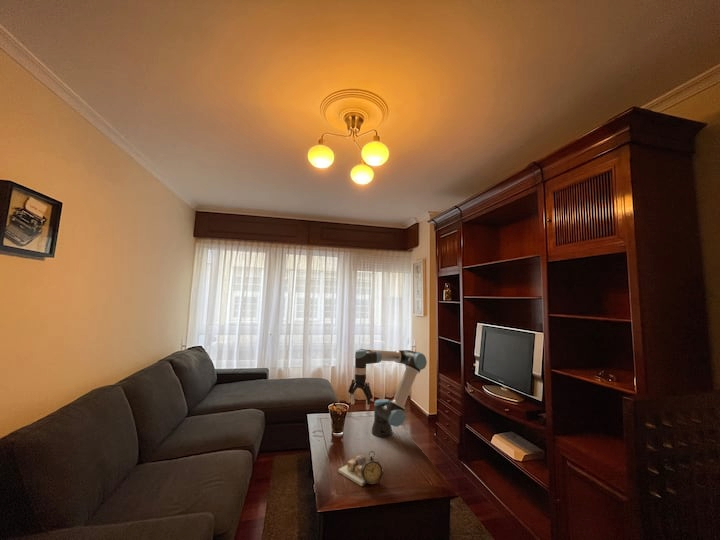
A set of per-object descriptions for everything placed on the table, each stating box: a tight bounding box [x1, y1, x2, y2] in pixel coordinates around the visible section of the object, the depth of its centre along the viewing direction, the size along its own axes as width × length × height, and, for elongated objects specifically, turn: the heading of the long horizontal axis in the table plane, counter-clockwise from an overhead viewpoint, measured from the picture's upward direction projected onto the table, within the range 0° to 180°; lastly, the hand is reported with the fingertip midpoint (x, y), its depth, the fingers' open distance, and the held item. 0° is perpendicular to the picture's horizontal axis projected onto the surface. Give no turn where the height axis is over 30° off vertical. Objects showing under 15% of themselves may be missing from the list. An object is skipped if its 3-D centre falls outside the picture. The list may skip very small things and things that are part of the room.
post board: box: [337, 455, 384, 487], centre depth 163 cm, size 18×18×8 cm
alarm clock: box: [361, 450, 384, 486], centre depth 153 cm, size 11×5×16 cm, turn 103°
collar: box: [346, 454, 367, 477], centre depth 163 cm, size 11×11×4 cm
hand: (359, 406), depth 191 cm, fingers open, 13 cm apart
